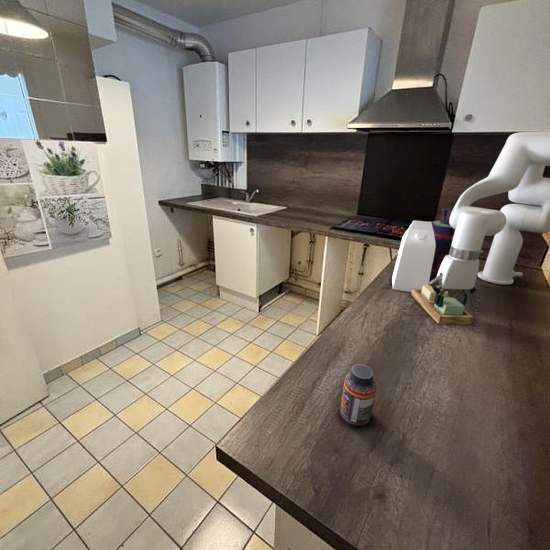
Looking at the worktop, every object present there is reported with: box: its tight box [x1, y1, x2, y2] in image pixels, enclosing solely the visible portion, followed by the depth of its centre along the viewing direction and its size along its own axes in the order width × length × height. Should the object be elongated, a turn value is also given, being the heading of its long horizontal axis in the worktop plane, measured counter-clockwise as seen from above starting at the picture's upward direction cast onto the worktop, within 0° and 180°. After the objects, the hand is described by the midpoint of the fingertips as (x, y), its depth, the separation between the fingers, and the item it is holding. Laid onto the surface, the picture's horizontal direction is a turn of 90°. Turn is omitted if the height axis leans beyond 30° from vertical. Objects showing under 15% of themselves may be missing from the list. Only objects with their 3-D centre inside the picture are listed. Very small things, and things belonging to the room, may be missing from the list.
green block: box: [434, 297, 466, 316], centre depth 94 cm, size 6×6×4 cm
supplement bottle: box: [339, 363, 377, 427], centre depth 56 cm, size 6×6×11 cm
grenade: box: [429, 206, 455, 282], centre depth 116 cm, size 14×12×30 cm
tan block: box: [421, 284, 449, 301], centre depth 103 cm, size 6×6×4 cm
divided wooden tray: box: [410, 289, 475, 325], centre depth 99 cm, size 10×20×3 cm, turn 0°
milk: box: [391, 220, 436, 293], centre depth 111 cm, size 12×12×26 cm
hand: (448, 305), depth 94 cm, fingers open, 6 cm apart
